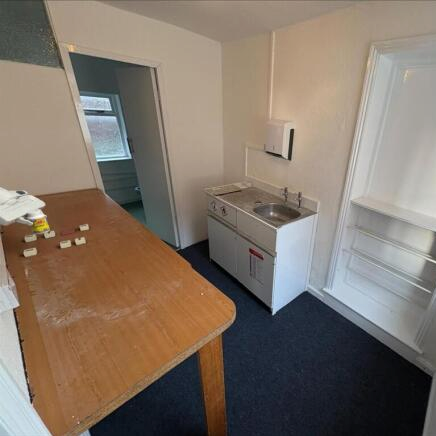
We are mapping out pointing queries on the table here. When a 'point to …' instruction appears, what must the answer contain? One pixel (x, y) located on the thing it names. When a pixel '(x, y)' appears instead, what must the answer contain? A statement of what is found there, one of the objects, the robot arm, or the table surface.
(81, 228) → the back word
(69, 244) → the front word
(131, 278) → the table surface
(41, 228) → the supplement bottle
